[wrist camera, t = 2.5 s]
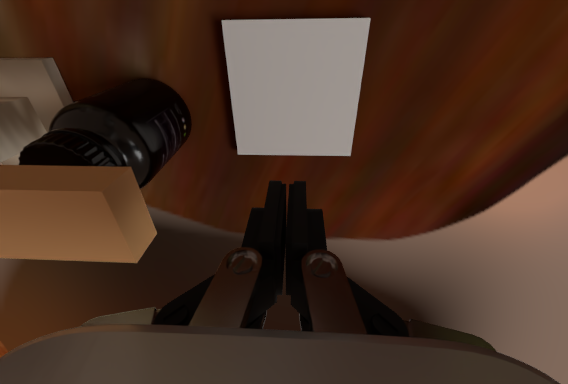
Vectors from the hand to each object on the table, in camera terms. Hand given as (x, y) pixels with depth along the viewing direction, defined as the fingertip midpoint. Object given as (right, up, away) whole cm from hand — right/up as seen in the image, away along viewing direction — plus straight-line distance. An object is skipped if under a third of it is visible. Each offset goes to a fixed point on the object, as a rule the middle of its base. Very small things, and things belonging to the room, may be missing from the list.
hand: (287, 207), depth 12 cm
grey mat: (+1, +9, +10) cm, 14 cm away
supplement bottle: (-12, +8, +12) cm, 19 cm away
